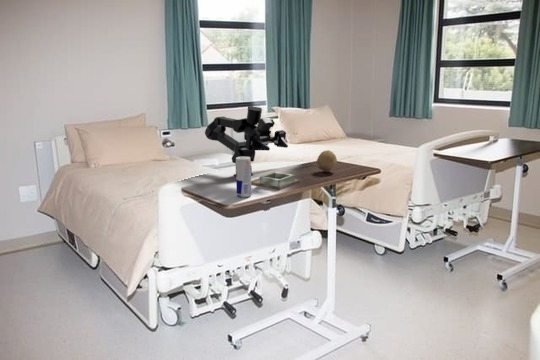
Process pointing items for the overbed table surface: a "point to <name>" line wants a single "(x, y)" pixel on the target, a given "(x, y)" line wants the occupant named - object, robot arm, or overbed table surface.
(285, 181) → the socket dock
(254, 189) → the overbed table surface
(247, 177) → the beverage can
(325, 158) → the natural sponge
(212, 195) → the overbed table surface
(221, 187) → the overbed table surface
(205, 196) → the overbed table surface
